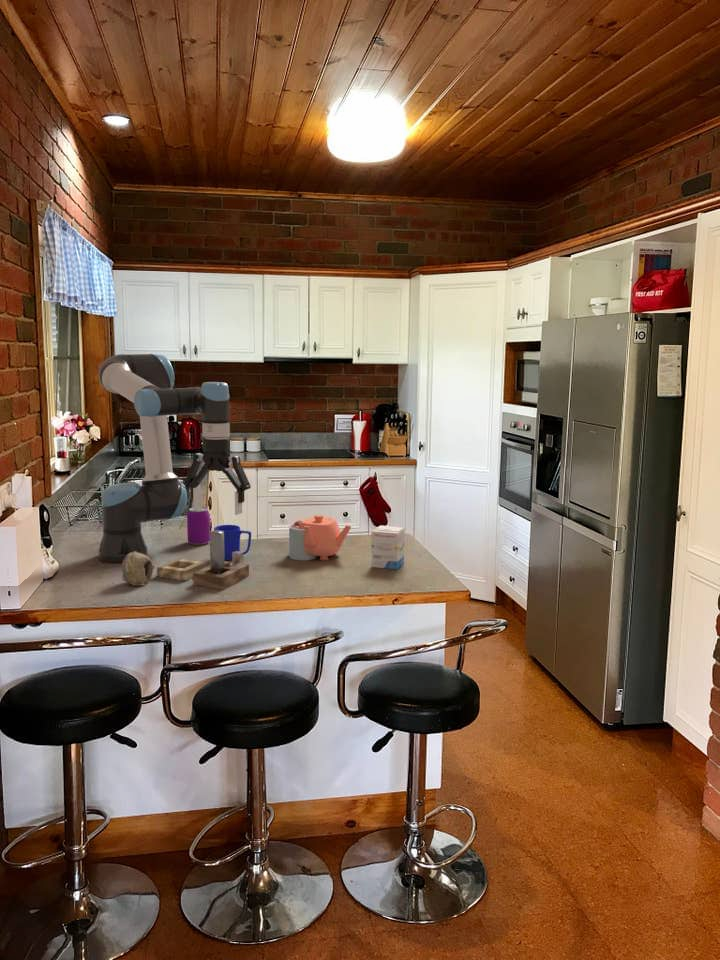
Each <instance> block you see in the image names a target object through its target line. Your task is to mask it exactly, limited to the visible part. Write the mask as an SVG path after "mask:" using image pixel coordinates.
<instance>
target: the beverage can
mask: <svg viewBox="0 0 720 960" xmlns="http://www.w3.org/2000/svg"><path fill="white" fill-rule="evenodd" d="M186 520H187V521H186V522H187V523H186V525H187V526H186V528H187V542H188V543H189V544H190V545H192V546H204V545H203V544H205V545H207V544H209V543H210V531H211V517H210V512H209V510H208V508H207V507H204V506H201V509H199V510H196V511H195V510H194V506H193V507H191V508H189V509H188V512H187V514H186ZM208 542H209V543H208ZM206 543H207V544H206Z"/></svg>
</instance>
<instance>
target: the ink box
mask: <svg viewBox="0 0 720 960" xmlns="http://www.w3.org/2000/svg"><path fill="white" fill-rule="evenodd" d="M405 530H406V528H405V527H401V526H400V527H398V526H389V525H379V526H377V527H376V528H374V529H373V530H371V567H372V568H379V569H388V570H389V569H390V570H399V568H401V566H402V565H403V564H404V563H405V532H406V531H405Z"/></svg>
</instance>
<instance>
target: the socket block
mask: <svg viewBox="0 0 720 960" xmlns="http://www.w3.org/2000/svg"><path fill="white" fill-rule="evenodd" d="M249 565H250V564H248V563H244V564H241V563H238V564H236V565H234V566H232V567H230V568H229V566H231V561H228V560H225V573H223V574H214V573H211V565H210V564H209V565H208V566H207V565H206V566H205V568H203V569H201V570H199V571H197V572H194V573H193V578H192V579H193V580H192V584H193V586H197V585H199V586H198V587H203V586H205V588H210V589H217V590H226V589H227V588H229V587H231V586H233V585H235V584H236V583H238V582H240V581H242V580H245V579H246V578H248V577H249V576H250V570H249V569H250V566H249Z"/></svg>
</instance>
